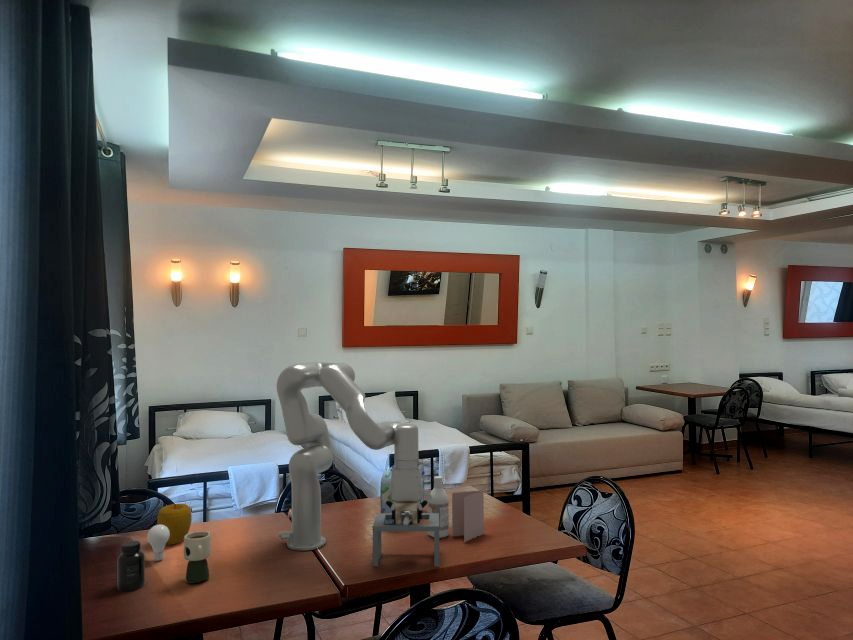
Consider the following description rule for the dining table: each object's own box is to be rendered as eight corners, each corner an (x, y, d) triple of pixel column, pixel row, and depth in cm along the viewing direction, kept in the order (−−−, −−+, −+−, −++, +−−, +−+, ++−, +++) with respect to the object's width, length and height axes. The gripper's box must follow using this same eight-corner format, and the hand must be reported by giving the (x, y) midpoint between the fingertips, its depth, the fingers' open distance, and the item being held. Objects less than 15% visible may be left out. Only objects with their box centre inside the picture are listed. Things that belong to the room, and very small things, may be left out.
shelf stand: (372, 566, 181) (372, 521, 181) (376, 550, 194) (376, 508, 194) (439, 566, 181) (439, 521, 181) (438, 550, 194) (438, 508, 194)
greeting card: (482, 532, 211) (482, 489, 211) (490, 539, 203) (490, 495, 204) (451, 535, 208) (451, 492, 208) (458, 543, 200) (458, 497, 201)
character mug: (181, 576, 175) (181, 531, 175) (207, 571, 178) (207, 527, 178) (186, 590, 165) (186, 542, 165) (213, 585, 168) (213, 538, 169)
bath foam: (426, 532, 211) (425, 475, 211) (444, 530, 213) (444, 473, 213) (432, 539, 204) (431, 480, 205) (451, 537, 206) (451, 478, 207)
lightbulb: (148, 558, 188) (148, 523, 189) (170, 555, 191) (170, 520, 191) (146, 565, 183) (146, 529, 183) (169, 562, 185) (169, 526, 185)
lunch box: (405, 531, 213) (404, 471, 213) (377, 528, 216) (376, 469, 216) (427, 510, 237) (427, 456, 238) (402, 507, 241) (402, 455, 241)
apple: (184, 548, 197) (184, 508, 197) (150, 548, 197) (151, 509, 197) (196, 536, 208) (196, 499, 208) (165, 537, 208) (165, 499, 208)
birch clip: (395, 530, 184) (395, 504, 184) (397, 523, 191) (396, 498, 191) (417, 530, 184) (417, 504, 184) (417, 523, 191) (417, 497, 191)
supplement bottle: (148, 581, 171) (148, 539, 171) (138, 591, 164) (138, 547, 165) (124, 581, 171) (124, 539, 171) (112, 592, 164) (112, 548, 164)
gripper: (434, 461, 191) (434, 518, 191) (379, 461, 192) (380, 518, 191) (434, 466, 184) (434, 525, 184) (377, 467, 184) (377, 526, 184)
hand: (406, 521), depth 187 cm, fingers closed on birch clip, 6 cm apart
